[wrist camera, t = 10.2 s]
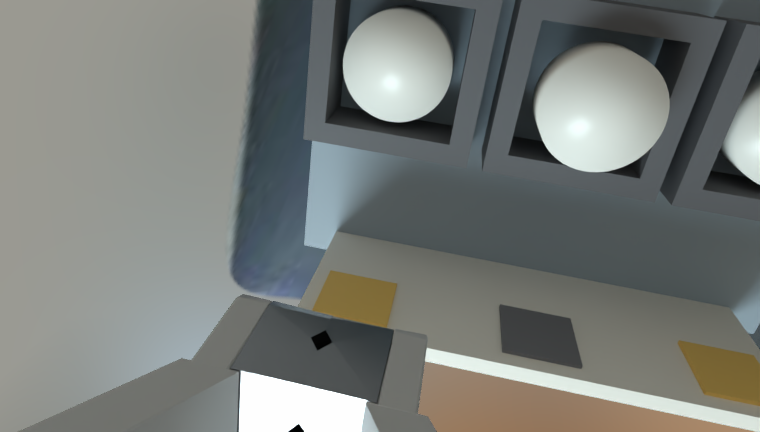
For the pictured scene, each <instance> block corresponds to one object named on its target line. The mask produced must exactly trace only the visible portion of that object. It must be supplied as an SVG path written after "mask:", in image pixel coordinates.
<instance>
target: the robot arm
mask: <svg viewBox="0 0 760 432" xmlns="http://www.w3.org/2000/svg"><path fill="white" fill-rule="evenodd" d="M393 335H394V337H393ZM392 340H393V341H392ZM427 343H428V338H427V335H425V334H420V333H415V332H410V331H404V330H399V329H395V333H394V329H390V328H385V327H380V326H376V325H371V324H367V323H362V322H358V321H353V320H348V319H344V318H339V317H335V316H332V315H328V314H324V313H320V312H316V311H312V310H308V309H304V308H300V307H295V306H291V305H287V304H283V303H279V302H275V301H273V302H272V301H270V300H266V299H261V298H257V297H253V296H249V295H245V294H243V295H241V296H239V297H237V298H236V299H235V300H234V302H233V303H232V304H231V306H230V307H229V309H228V310H227V311H226V313H225V314H224V316H223V317H222V318H221V320H220V321H219V323H218V324H217V325H216V327H215V328H214V329H213V331H212V332H211V334H210V335H209V336H208V338H207V339H206V341H205V342H204V344H203V345H202V346H201V348H200V349H199V351H198V352H197V353H196V355H195V356H194V358H193V359H192V360H187V359H182V358H181V359H179V360H177V361H175V362H172V363H170V364H168V365H166V366H164V367H161V368H159V369H157V370H154V371H152V372H150V373H148V374H146V375H143V376H141V377H139V378H137V379H134V380H132V381H130V382H128V383H126V384H123V385H121V386H119V387H117V388H114V389H112V390H110V391H108V392H106V393H103V394H101V395H99V396H97V397H94V398H92V399H90V400H88V401H86V402H83V403H81V404H79V405H77V406H75V407H72V408H70V409H68V410H65V411H63V412H61V413H59V414H56V415H54V416H52V417H50V418H48V419H46V420H43V421H41V422H39V423H36V424H34V425H32V426H30V427H27V428H25V429H23V430H21V431H19V432H437V431H436V430H435V428H434V426H433V424H432V423H431V421H430V419H429V418H428V417H427V416H424V415H420V414H418V408H419V400H420V393H421V386H422V378H423V372H424V365H425V357H426V350H427Z"/></svg>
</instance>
